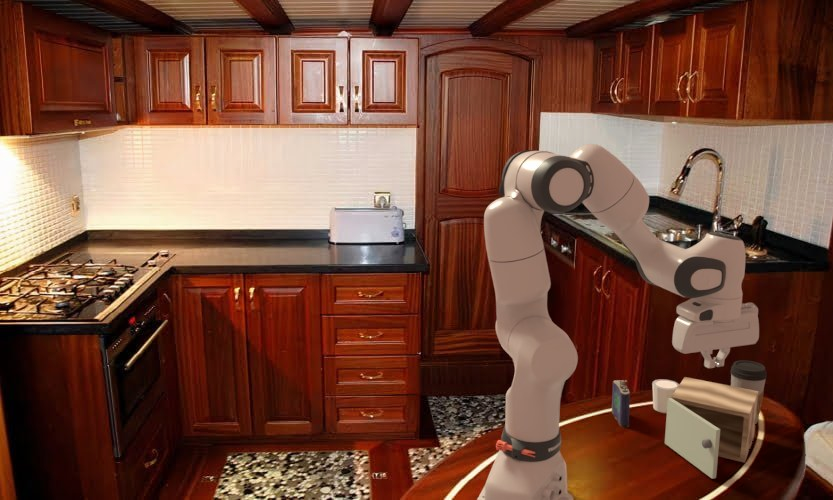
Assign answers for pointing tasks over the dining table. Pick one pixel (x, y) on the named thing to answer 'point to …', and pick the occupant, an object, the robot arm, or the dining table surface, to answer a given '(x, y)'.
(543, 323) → the robot arm
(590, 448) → the dining table surface
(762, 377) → the coffee cup
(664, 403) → the white cylinder
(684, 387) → the oak cabinet
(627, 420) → the flask
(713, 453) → the side door
